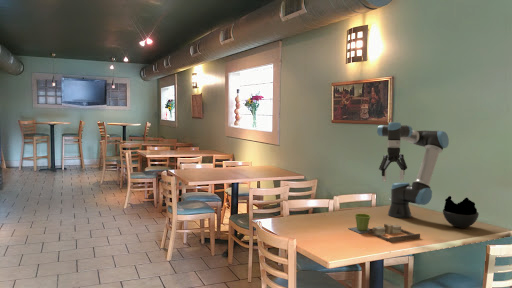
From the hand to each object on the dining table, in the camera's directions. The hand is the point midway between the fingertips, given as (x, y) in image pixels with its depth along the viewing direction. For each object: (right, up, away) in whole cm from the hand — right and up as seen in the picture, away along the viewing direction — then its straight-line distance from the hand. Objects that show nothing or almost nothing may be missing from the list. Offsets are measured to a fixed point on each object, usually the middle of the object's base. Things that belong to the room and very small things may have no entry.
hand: (392, 180), depth 254 cm
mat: (-22, -29, -9) cm, 37 cm away
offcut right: (-3, -30, -13) cm, 33 cm away
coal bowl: (+42, -29, -1) cm, 51 cm away
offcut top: (-9, -27, -15) cm, 32 cm away
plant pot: (-22, -29, -9) cm, 37 cm away
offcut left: (-14, -30, -17) cm, 37 cm away
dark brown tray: (-6, -30, -20) cm, 37 cm away
